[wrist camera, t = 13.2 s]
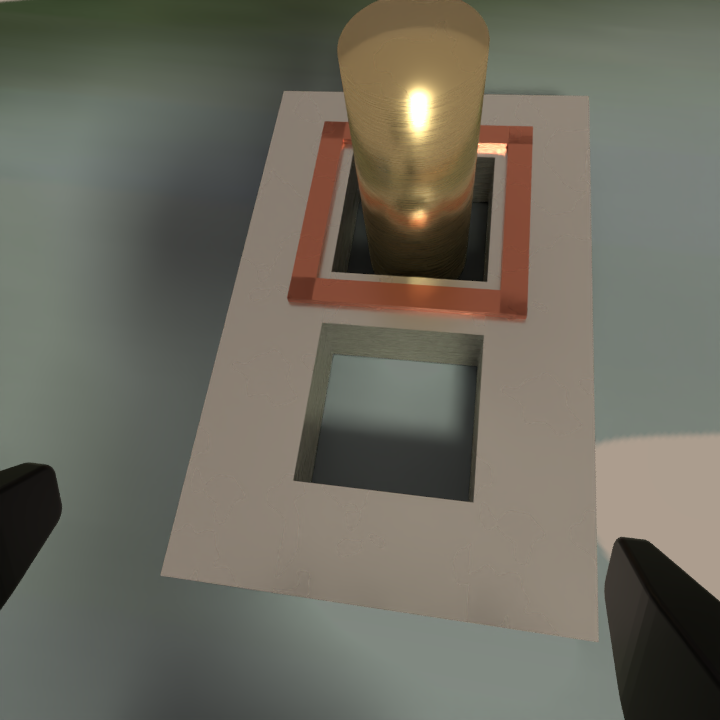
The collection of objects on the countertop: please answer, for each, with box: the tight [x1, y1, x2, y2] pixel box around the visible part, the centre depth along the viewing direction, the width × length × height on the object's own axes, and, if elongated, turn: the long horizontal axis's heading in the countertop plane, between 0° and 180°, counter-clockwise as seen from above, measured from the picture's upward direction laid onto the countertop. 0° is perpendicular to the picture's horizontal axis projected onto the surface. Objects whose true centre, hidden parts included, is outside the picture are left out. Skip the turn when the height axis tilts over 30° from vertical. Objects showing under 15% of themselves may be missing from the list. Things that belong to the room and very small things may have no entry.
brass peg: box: [337, 0, 490, 280], centre depth 22 cm, size 4×4×11 cm
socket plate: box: [160, 91, 598, 642], centre depth 24 cm, size 22×14×3 cm, turn 172°
